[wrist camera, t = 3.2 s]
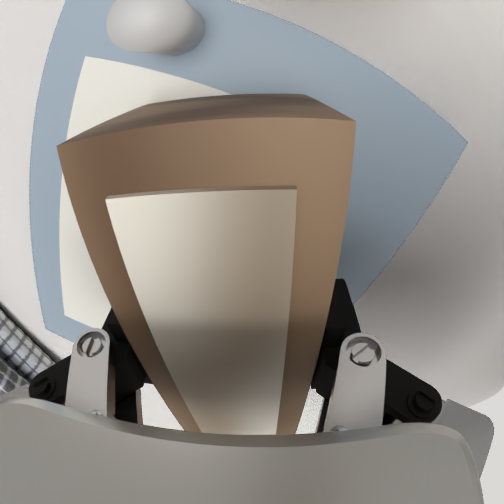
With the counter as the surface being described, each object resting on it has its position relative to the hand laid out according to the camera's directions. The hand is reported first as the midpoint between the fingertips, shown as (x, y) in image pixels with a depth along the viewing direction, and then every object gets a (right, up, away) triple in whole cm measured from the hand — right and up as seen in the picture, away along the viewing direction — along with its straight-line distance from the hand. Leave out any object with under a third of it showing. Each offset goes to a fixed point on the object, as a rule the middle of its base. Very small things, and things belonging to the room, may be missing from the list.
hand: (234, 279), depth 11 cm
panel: (-2, +1, +2) cm, 3 cm away
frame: (0, +1, +1) cm, 1 cm away
